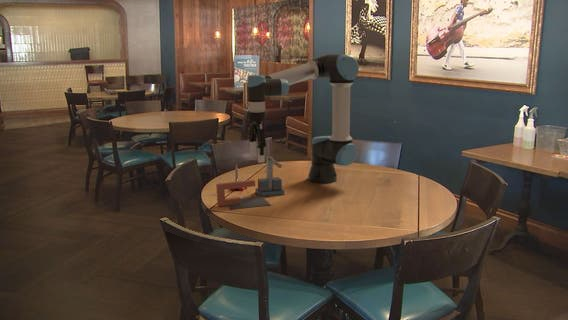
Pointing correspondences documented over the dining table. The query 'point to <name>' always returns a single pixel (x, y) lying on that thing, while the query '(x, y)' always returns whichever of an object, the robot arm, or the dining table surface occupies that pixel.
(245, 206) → the mat
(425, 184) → the dining table surface
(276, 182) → the toilet paper holder
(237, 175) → the tow hook
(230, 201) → the reddish-brown c-shaped bracket
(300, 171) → the dining table surface
